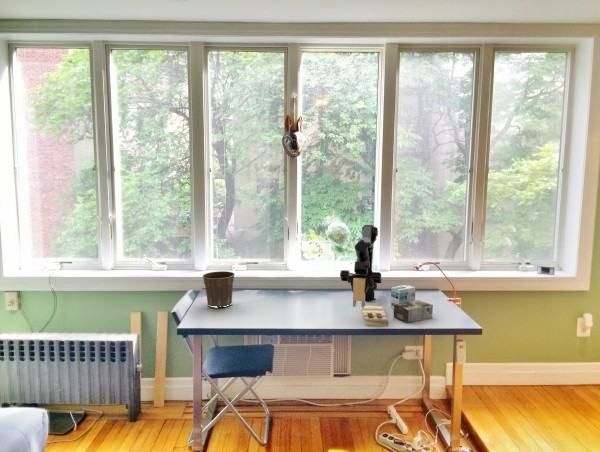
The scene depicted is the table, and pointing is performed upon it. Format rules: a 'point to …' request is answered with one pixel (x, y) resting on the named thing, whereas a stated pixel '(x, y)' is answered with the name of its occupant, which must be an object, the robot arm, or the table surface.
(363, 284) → the tan tall block
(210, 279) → the plant pot
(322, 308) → the table surface
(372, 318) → the beige flat slab
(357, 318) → the table surface
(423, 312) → the coffee box
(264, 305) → the table surface
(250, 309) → the table surface
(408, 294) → the light bulb box
